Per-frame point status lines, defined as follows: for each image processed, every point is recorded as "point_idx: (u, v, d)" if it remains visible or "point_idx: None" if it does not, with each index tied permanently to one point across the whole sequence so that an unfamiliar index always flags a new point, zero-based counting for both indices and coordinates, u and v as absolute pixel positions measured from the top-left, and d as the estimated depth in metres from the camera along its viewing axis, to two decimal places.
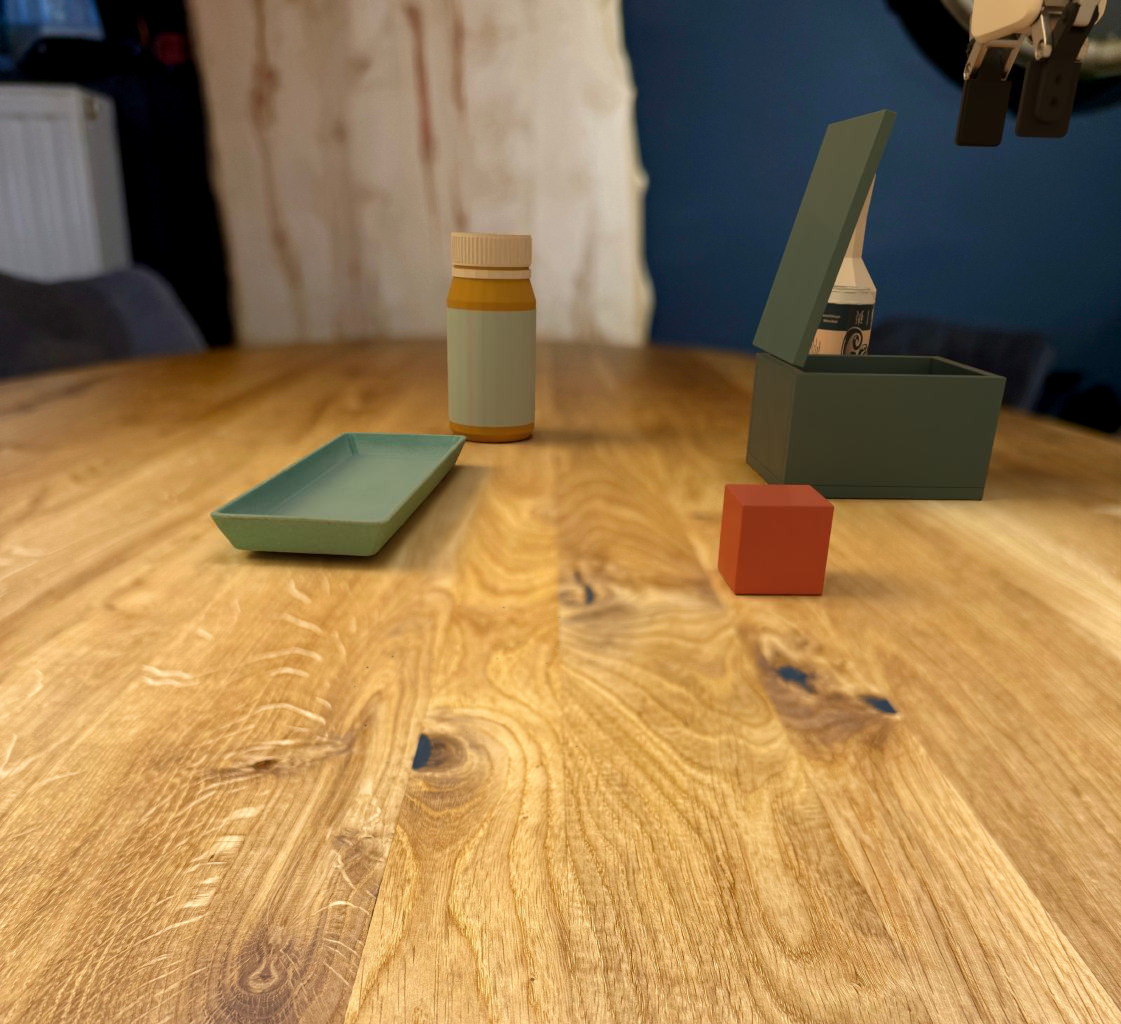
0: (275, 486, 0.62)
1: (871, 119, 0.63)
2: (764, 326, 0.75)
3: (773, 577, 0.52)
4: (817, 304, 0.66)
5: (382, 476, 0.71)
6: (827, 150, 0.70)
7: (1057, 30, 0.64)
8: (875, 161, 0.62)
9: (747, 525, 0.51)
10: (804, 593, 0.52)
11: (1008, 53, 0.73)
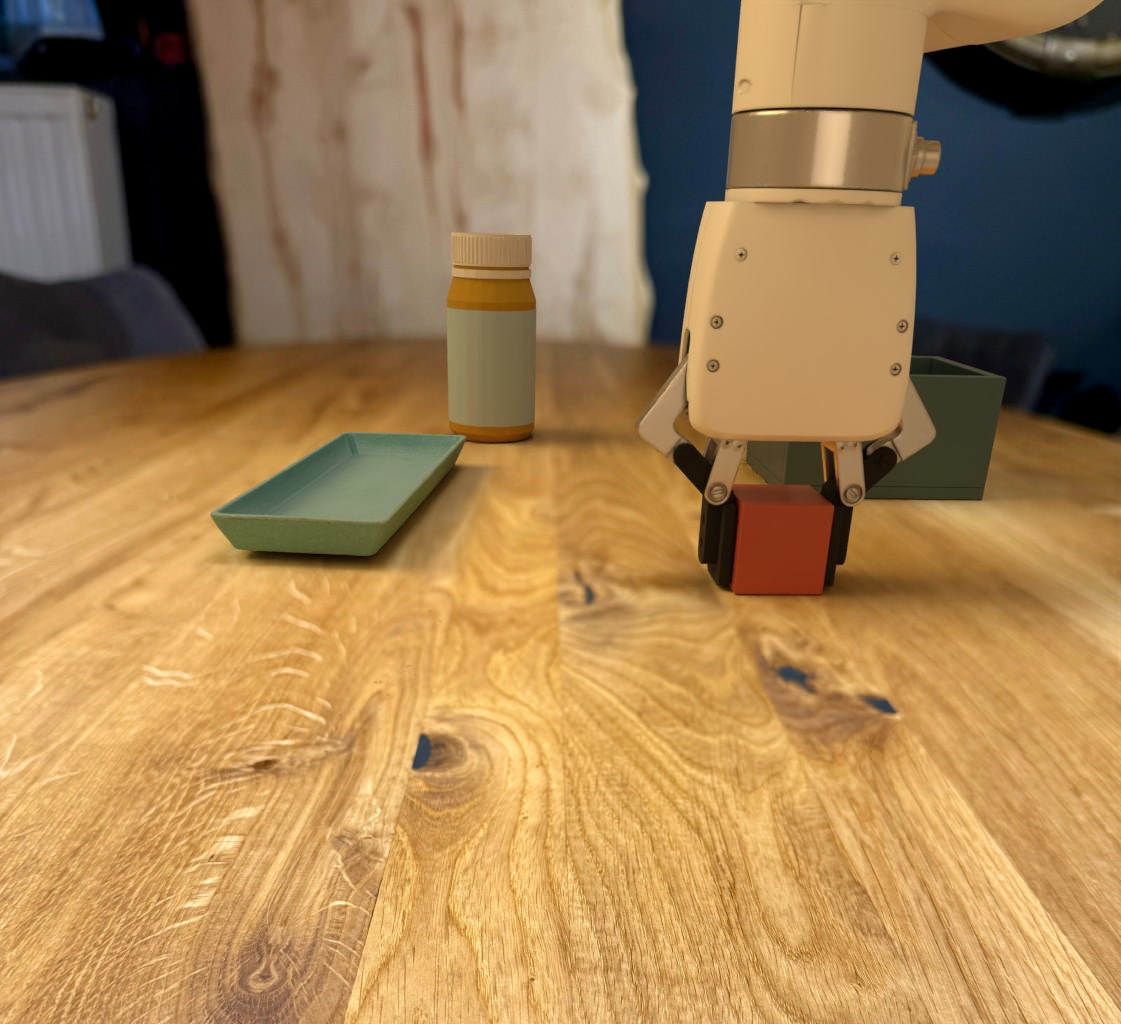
0: (275, 486, 0.62)
1: None
2: None
3: (772, 577, 0.52)
4: None
5: (382, 476, 0.71)
6: None
7: (866, 474, 0.51)
8: None
9: (747, 525, 0.51)
10: (804, 593, 0.52)
11: None
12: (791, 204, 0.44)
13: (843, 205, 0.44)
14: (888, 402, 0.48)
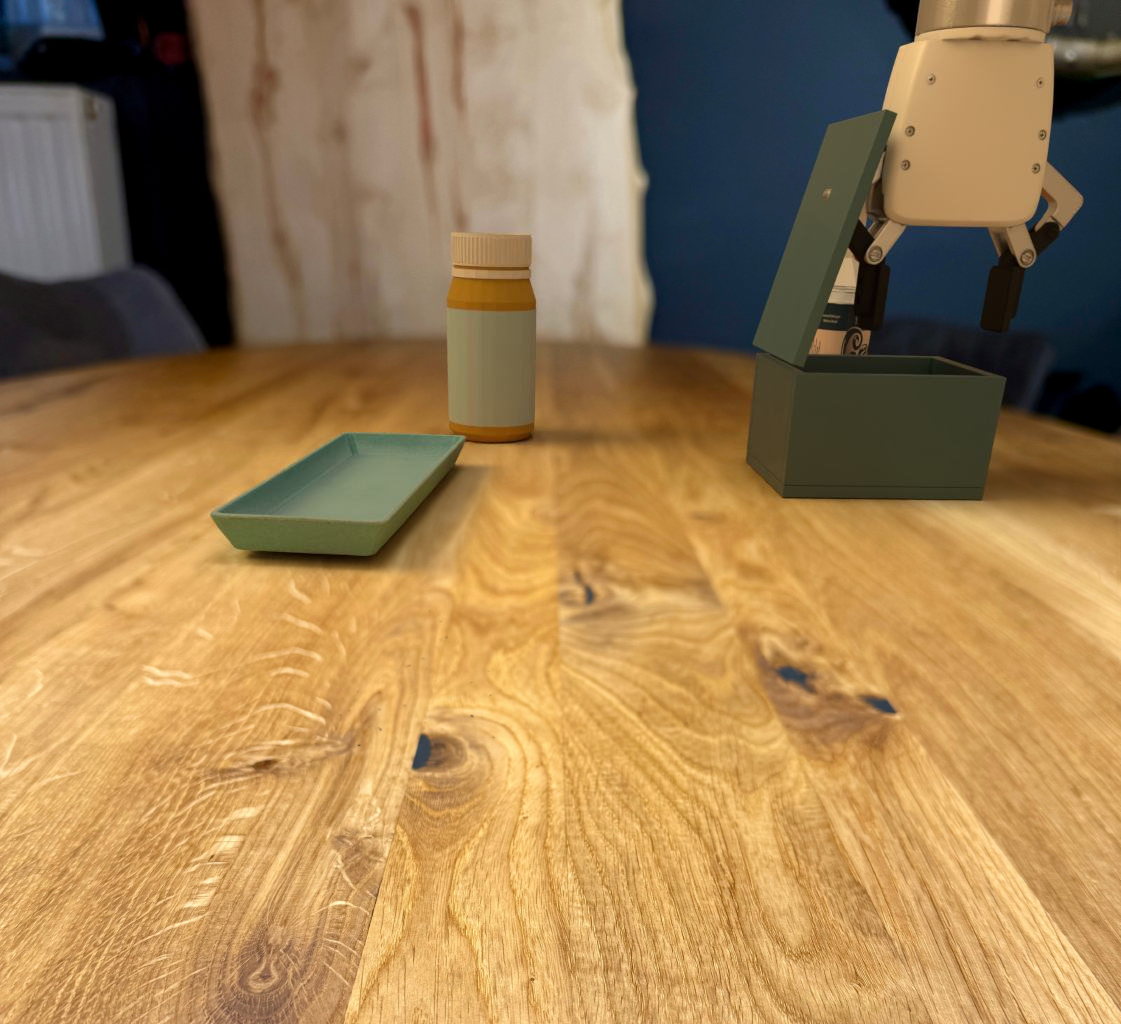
0: (275, 486, 0.62)
1: (871, 119, 0.63)
2: (764, 326, 0.75)
3: None
4: (817, 304, 0.66)
5: (382, 476, 0.71)
6: (827, 150, 0.70)
7: (1036, 243, 0.69)
8: (875, 161, 0.62)
9: None
10: None
11: None
12: (969, 40, 0.63)
13: (1006, 41, 0.63)
14: (1029, 194, 0.67)
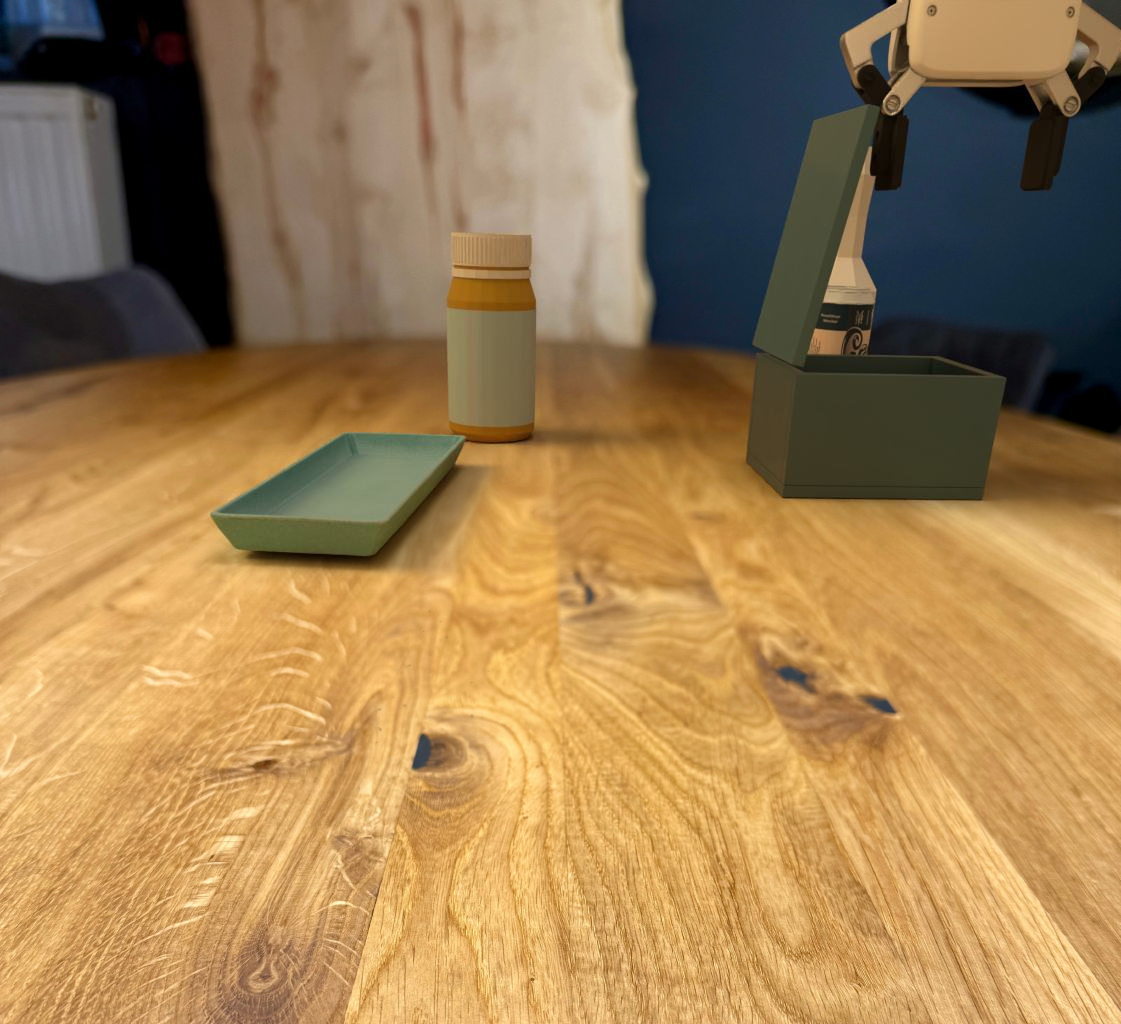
0: (275, 486, 0.62)
1: (855, 114, 0.63)
2: (762, 326, 0.75)
3: None
4: (813, 303, 0.66)
5: (382, 476, 0.71)
6: (814, 146, 0.70)
7: (1080, 90, 0.66)
8: (861, 157, 0.62)
9: None
10: None
11: None
12: None
13: None
14: (1063, 41, 0.63)
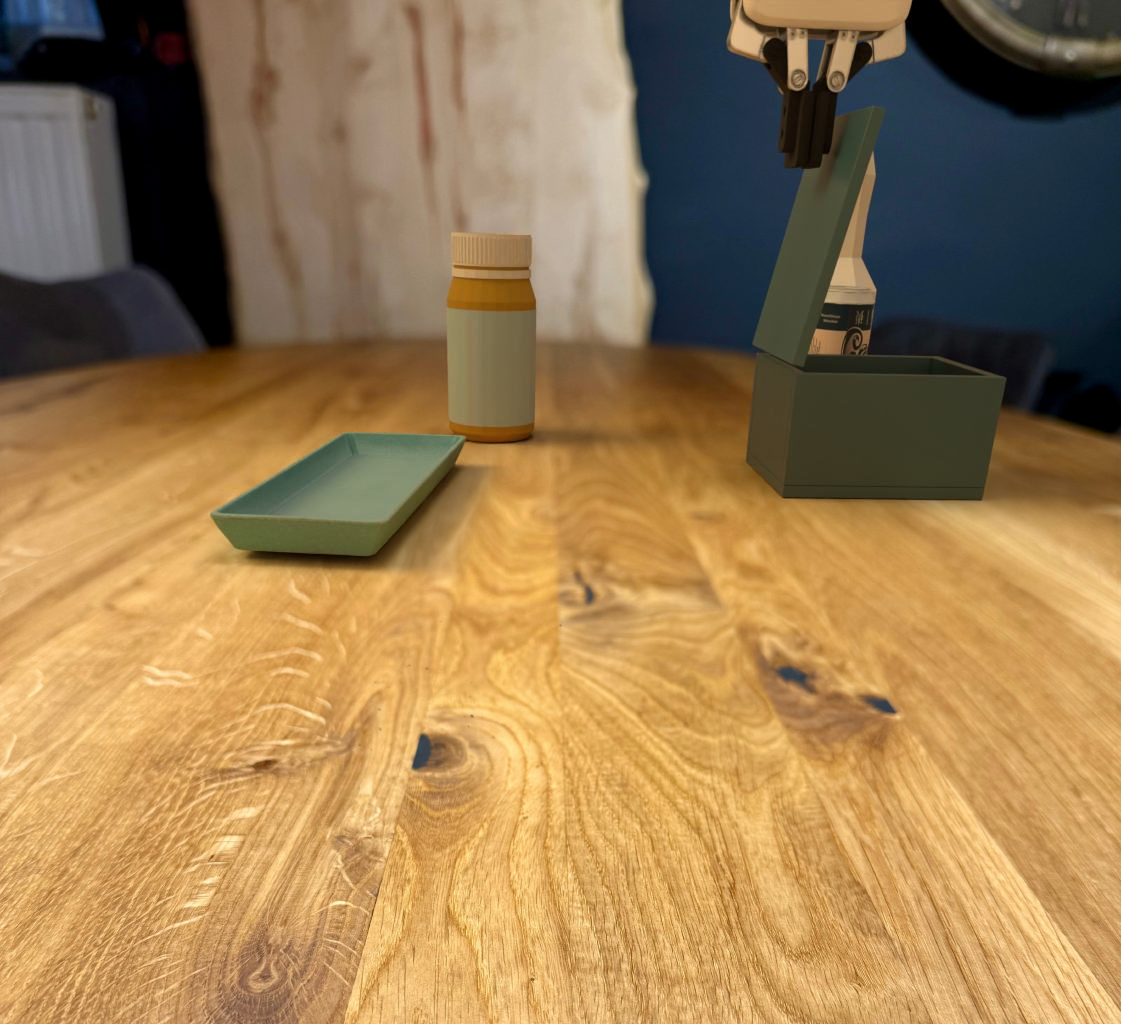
0: (275, 486, 0.62)
1: (860, 116, 0.63)
2: (763, 326, 0.75)
3: None
4: (814, 303, 0.66)
5: (382, 476, 0.71)
6: None
7: None
8: (866, 158, 0.62)
9: None
10: None
11: None
12: None
13: None
14: None
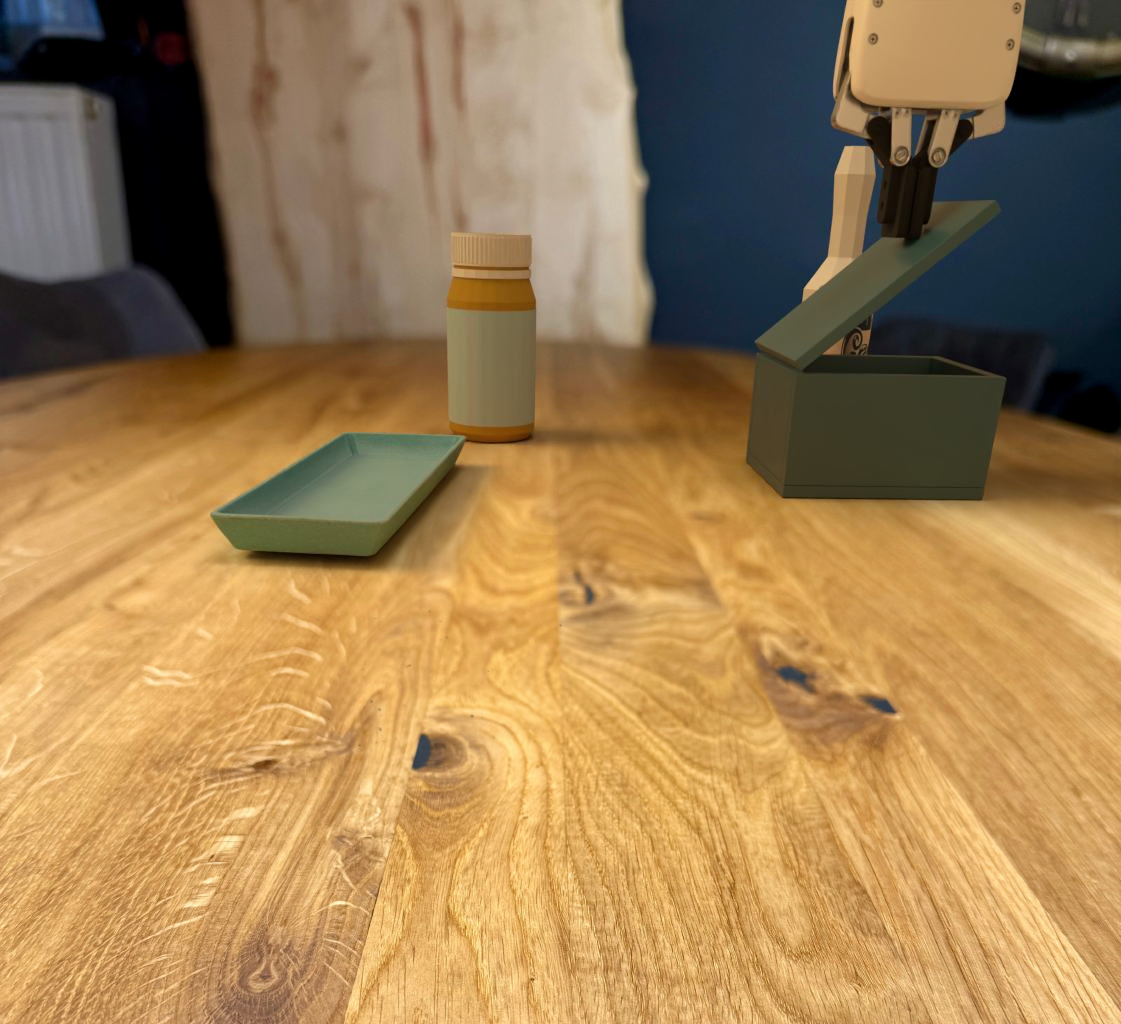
0: (275, 486, 0.62)
1: (976, 204, 0.65)
2: (775, 330, 0.75)
3: None
4: (845, 324, 0.66)
5: (382, 476, 0.71)
6: None
7: None
8: (962, 237, 0.64)
9: None
10: None
11: None
12: None
13: None
14: (1003, 72, 0.64)
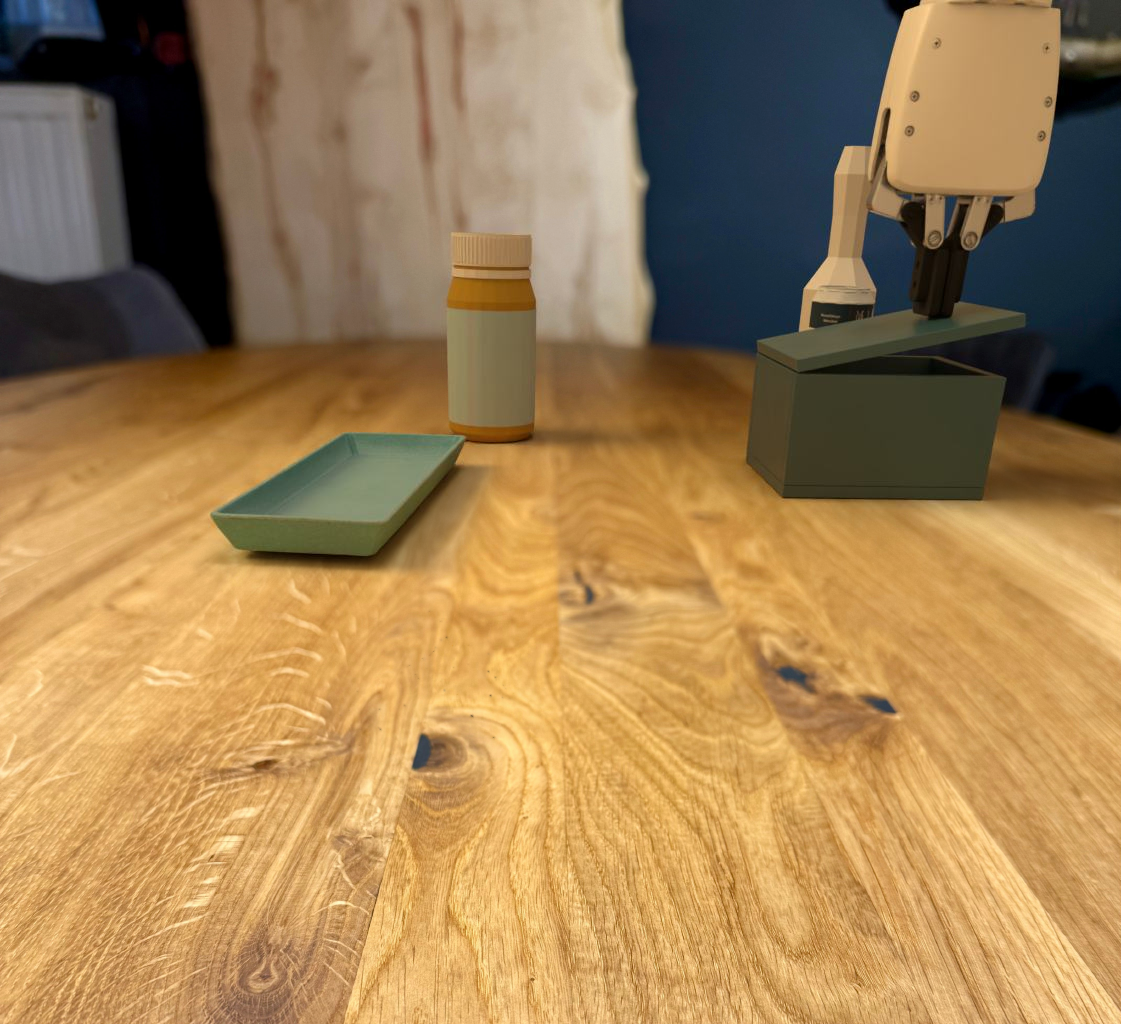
0: (275, 486, 0.62)
1: (1005, 311, 0.68)
2: (781, 338, 0.76)
3: None
4: (855, 351, 0.67)
5: (382, 476, 0.71)
6: None
7: None
8: (984, 330, 0.67)
9: None
10: None
11: None
12: (975, 4, 0.62)
13: (1012, 5, 0.62)
14: (1034, 162, 0.66)
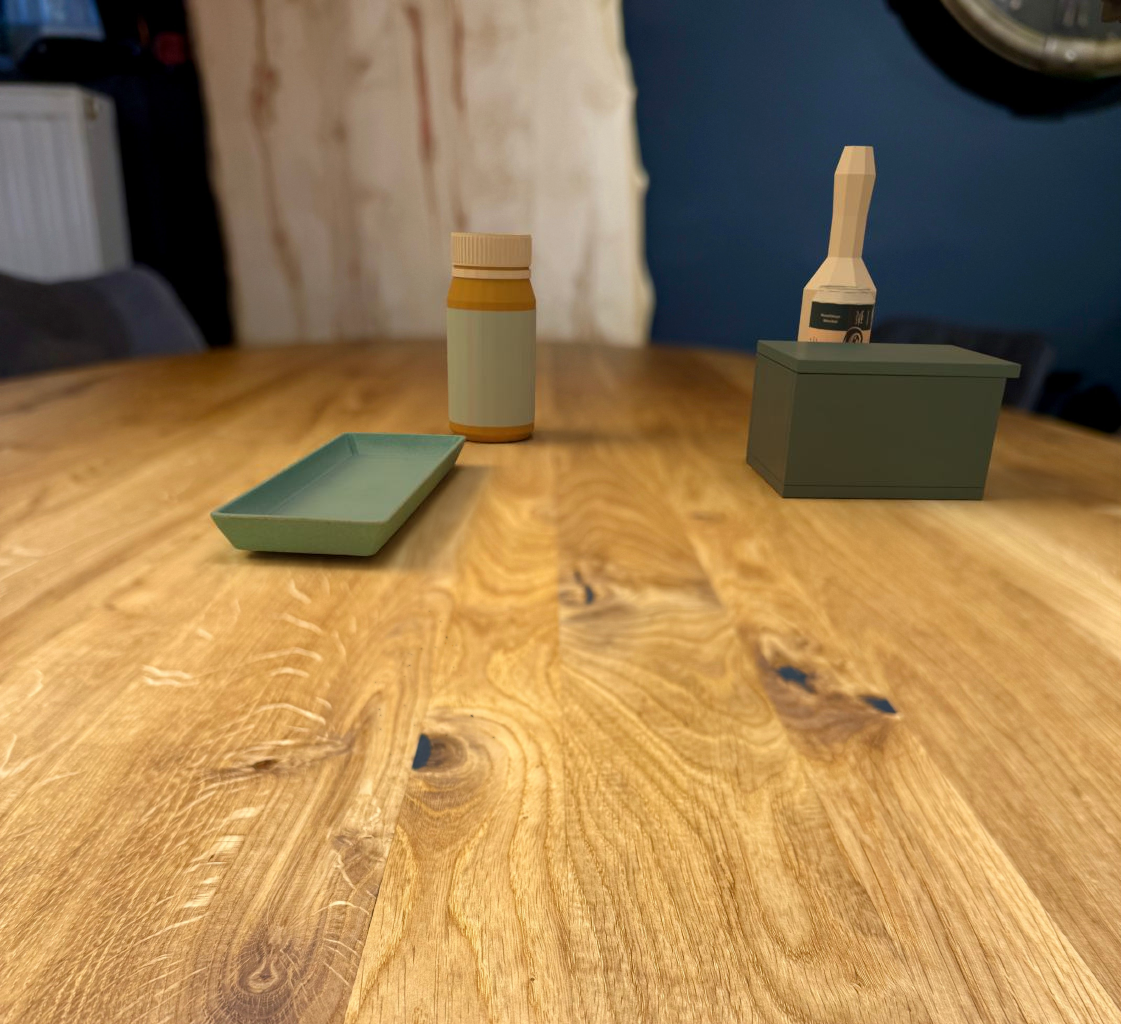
0: (275, 486, 0.62)
1: (1002, 360, 0.70)
2: (782, 343, 0.76)
3: None
4: (855, 364, 0.67)
5: (382, 476, 0.71)
6: (939, 347, 0.76)
7: None
8: (980, 372, 0.68)
9: None
10: None
11: None
12: None
13: None
14: None
